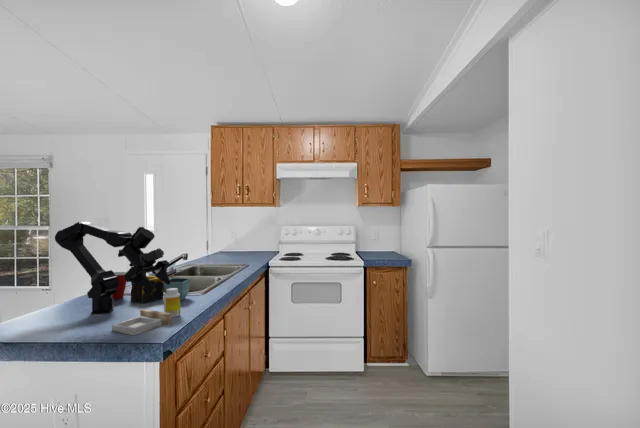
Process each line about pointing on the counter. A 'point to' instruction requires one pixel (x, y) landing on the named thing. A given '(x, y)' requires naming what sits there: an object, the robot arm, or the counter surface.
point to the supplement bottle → (172, 302)
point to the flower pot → (179, 286)
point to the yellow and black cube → (147, 291)
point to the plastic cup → (120, 285)
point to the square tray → (136, 325)
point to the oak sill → (157, 316)
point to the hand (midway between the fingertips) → (161, 286)
